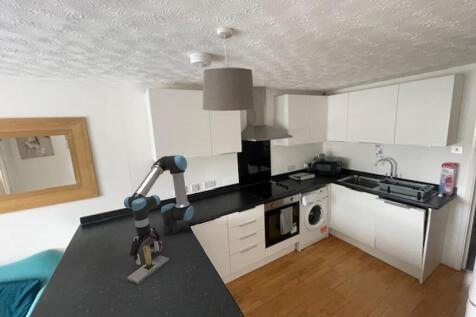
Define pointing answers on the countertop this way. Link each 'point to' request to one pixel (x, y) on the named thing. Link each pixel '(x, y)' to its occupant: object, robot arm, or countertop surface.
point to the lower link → (159, 261)
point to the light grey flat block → (141, 273)
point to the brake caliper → (152, 247)
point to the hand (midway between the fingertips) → (148, 256)
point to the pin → (148, 257)
